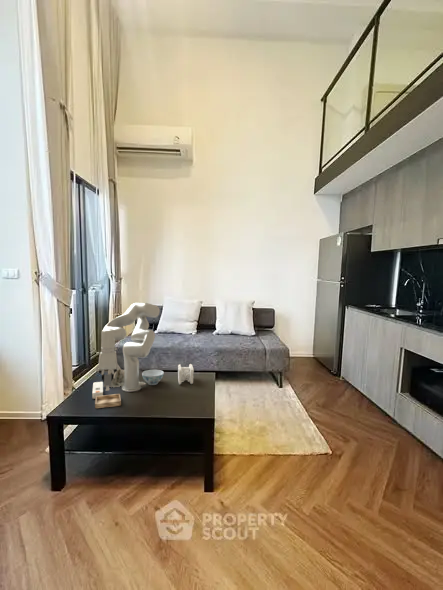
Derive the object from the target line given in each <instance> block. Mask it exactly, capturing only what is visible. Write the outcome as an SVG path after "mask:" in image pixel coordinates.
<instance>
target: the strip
mask: <svg viewBox="0 0 443 590" xmlns="http://www.w3.org/2000/svg"><path fill="white" fill-rule="evenodd" d="M103 395H104V382H103V381H96V382H93V384H92V395H91V396H92V399H93V400H94V399H95V400H96V396H103Z"/></svg>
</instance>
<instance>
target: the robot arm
mask: <svg viewBox="0 0 443 590" xmlns="http://www.w3.org/2000/svg"><path fill="white" fill-rule="evenodd" d="M159 315H160V308H159V306H157V305H156V304H152V303H148V302H133V303H132V304H131V305H130V306H129V307H127V309H126V311H124V312H123V314H122V315H119V316H117V317H114V318H112V319H111V320H110V321H108V323H107V324H106V325H105V326H104V327H103V329H102V330H101V339H100V340H101V342H100V343H101V347H100V349H101V350H100V352H99V357H98V364H97V366H96V367H95V368H94V370H95V371H96V372H98V373H99V374H100V375H101V380H102V382H103V383H104V375H105V371H106V370H109V369H111V370H112V373H111V381H112V379H114V373H115V372H116V371H117V370H119V369H120V368H121V367H120V366H119V363H118V355H117V350H118V347H116V341H120V340H124V339H125V338H126V336H127V330H126V329H125V328H124V327H126V326H130V325H132V324H134V323H135V322H136V321H137V322H136V325H135V327H134V329H133V331H132V333H131V336H130V339H131V341H127V342H125V343H123V346H122V354H123V360H124V361H123V370H124V386H121V391H123V392H132V393H133V392H138V391H140V390H141V389H142V386H146V385H147V382H146V381H140V361H139V358H144V359H145V358H146V357H148V356H149V354H150V352H151V349H152V347H153V345H154V342H155V339H156V338H155V337H156V335H155V332H154V330H153V329H149V327H150V324H149V321H148V319H147V318H158V317H159ZM114 369H115V370H114Z"/></svg>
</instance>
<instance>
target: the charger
mask: <svg viewBox="0 0 443 590" xmlns="http://www.w3.org/2000/svg"><path fill="white" fill-rule="evenodd" d="M109 387H111V374H108V373H107V374H104V382H103V388H105V391H106V392H109V391H110V388H109ZM111 388H112V387H111Z"/></svg>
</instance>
